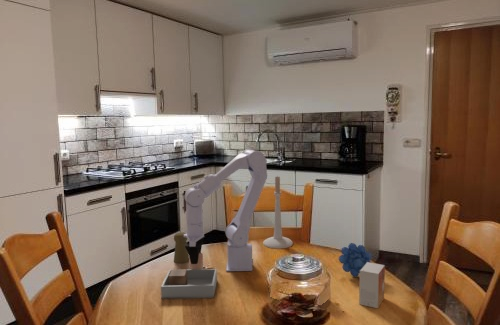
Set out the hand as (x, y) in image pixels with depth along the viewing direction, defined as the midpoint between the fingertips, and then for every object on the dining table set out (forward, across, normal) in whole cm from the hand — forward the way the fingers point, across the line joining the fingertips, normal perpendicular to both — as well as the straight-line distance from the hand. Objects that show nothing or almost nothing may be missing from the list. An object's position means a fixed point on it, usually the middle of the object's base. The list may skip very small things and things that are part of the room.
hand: (195, 259), depth 139 cm
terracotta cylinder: (+5, 0, 0) cm, 5 cm away
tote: (+5, +12, 0) cm, 14 cm away
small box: (+5, +23, +56) cm, 60 cm away
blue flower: (+5, +6, +56) cm, 56 cm away
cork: (+5, -13, -7) cm, 16 cm away
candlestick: (+5, -31, +32) cm, 45 cm away
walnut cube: (+5, +12, -4) cm, 14 cm away
